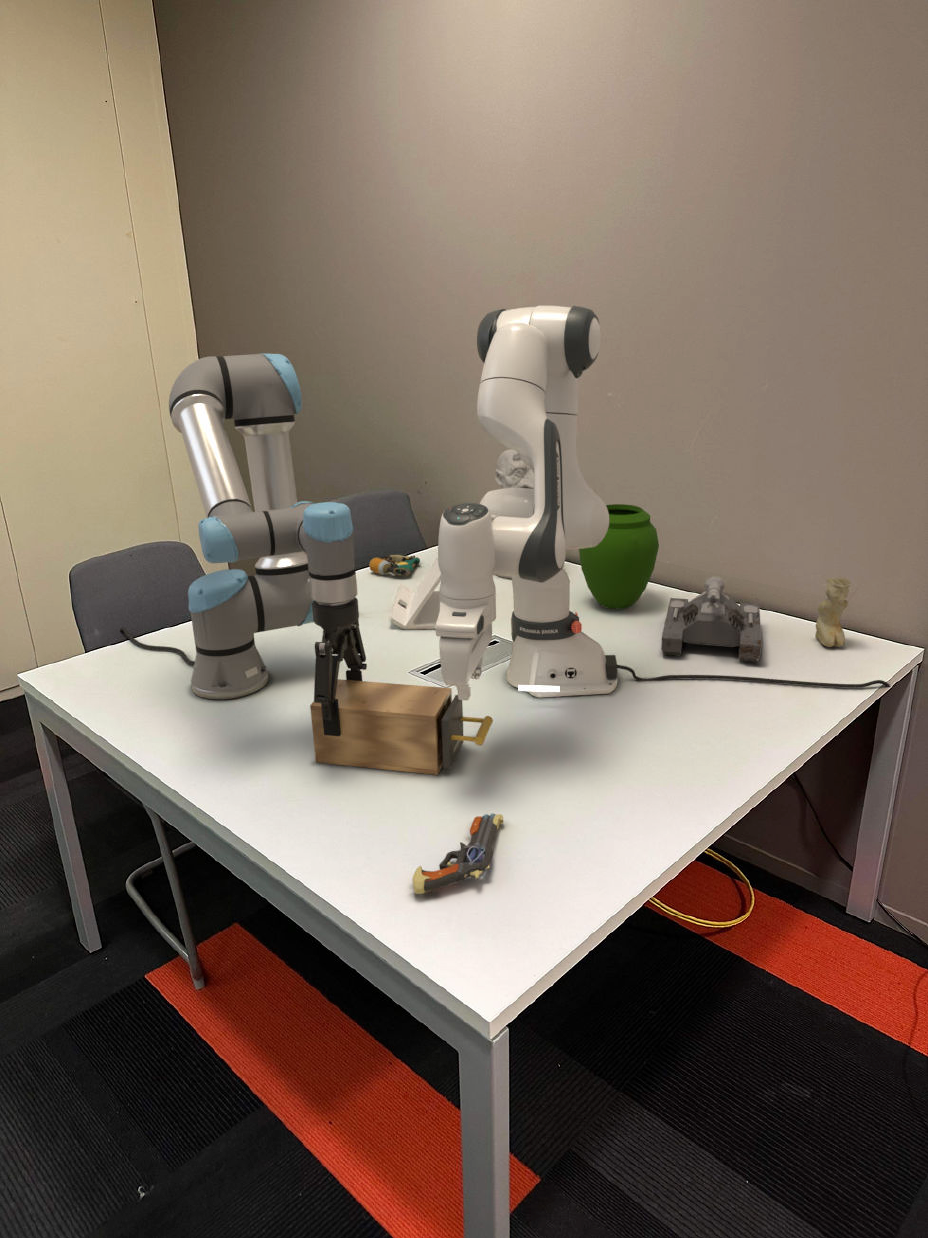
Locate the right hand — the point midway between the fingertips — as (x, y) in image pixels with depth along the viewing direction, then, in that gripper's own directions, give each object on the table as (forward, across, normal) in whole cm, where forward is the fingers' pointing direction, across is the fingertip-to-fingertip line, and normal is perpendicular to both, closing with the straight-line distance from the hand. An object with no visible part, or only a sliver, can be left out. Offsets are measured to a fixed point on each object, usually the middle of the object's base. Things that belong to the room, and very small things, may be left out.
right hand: (470, 687), depth 139 cm
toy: (+14, -61, +41) cm, 75 cm away
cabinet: (+14, 0, -15) cm, 21 cm away
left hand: (+8, 0, -22) cm, 24 cm away
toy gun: (+14, +26, +4) cm, 30 cm away
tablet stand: (+14, -70, -27) cm, 76 cm away
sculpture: (+14, -64, +66) cm, 93 cm away
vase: (+14, -82, +18) cm, 85 cm away
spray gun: (+14, -102, -45) cm, 112 cm away
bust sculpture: (+14, -102, -8) cm, 104 cm away
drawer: (+13, 0, -10) cm, 16 cm away
